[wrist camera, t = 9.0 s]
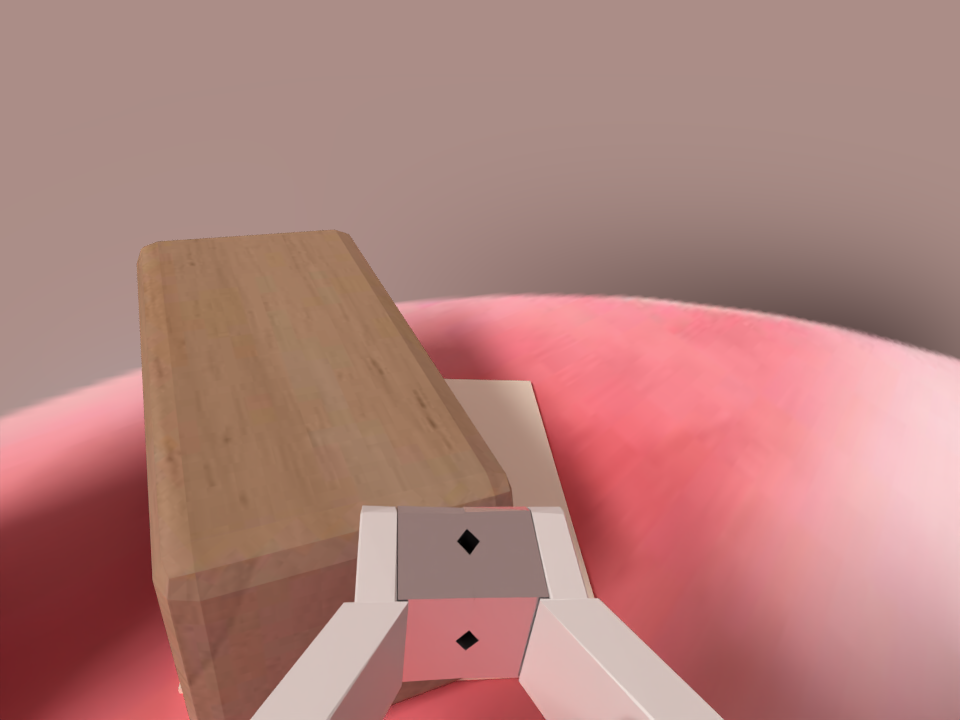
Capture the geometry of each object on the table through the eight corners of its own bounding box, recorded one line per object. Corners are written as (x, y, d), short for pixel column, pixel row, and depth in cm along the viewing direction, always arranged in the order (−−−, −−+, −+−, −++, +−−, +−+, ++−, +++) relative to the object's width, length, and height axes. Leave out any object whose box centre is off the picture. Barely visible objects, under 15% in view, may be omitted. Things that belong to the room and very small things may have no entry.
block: (203, 790, 20) (167, 408, 35) (490, 680, 24) (350, 378, 39) (146, 586, 15) (132, 234, 29) (531, 487, 19) (349, 221, 33)
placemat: (529, 384, 41) (530, 381, 41) (613, 673, 25) (615, 668, 25) (266, 378, 38) (265, 374, 38) (179, 693, 23) (178, 688, 23)
